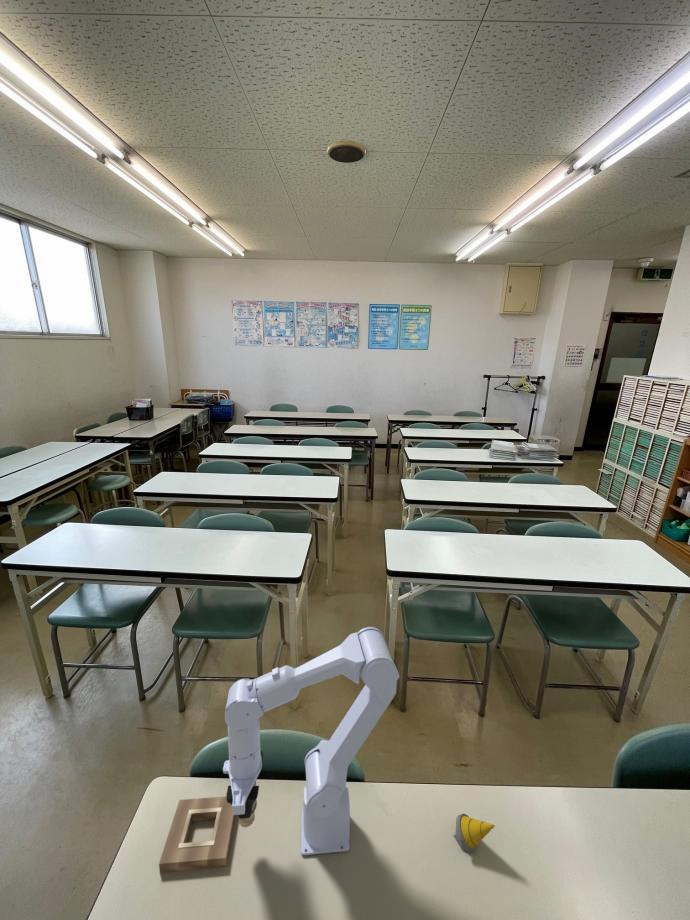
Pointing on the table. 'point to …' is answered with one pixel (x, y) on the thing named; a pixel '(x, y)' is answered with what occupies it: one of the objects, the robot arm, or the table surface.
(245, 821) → the peg
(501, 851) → the table surface
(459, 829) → the yellow striped cone
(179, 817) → the board
